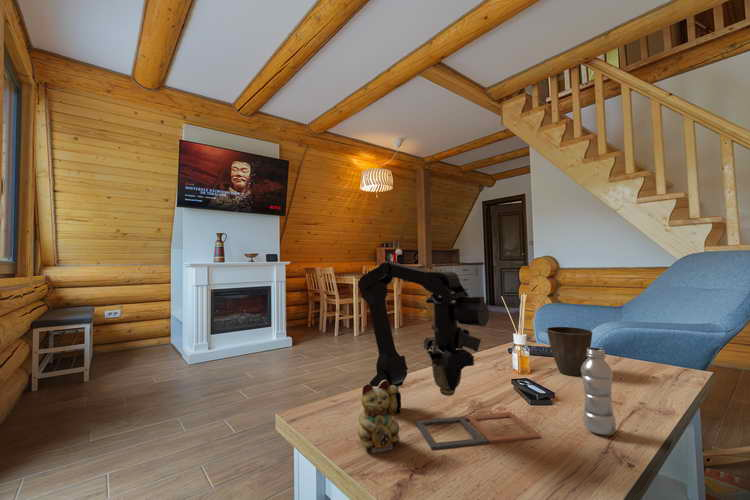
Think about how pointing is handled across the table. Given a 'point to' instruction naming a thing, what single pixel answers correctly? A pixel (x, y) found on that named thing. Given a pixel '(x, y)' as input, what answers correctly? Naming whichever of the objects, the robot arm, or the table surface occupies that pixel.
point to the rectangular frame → (473, 432)
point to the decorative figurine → (378, 417)
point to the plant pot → (569, 348)
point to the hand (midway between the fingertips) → (447, 385)
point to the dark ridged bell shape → (442, 378)
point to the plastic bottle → (598, 393)
